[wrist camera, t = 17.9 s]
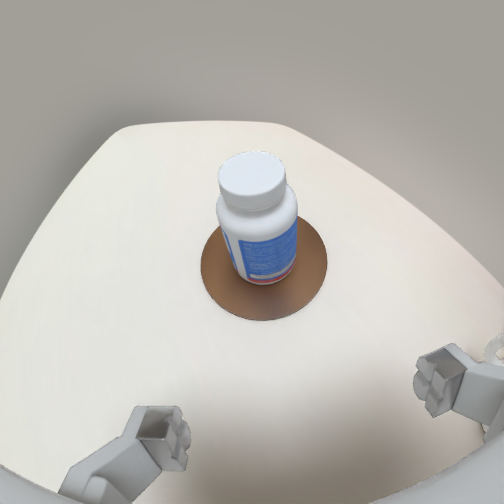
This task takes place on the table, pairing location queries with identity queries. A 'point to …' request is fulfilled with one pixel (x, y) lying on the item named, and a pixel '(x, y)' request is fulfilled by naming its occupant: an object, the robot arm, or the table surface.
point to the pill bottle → (258, 216)
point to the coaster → (272, 295)
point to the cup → (493, 355)
